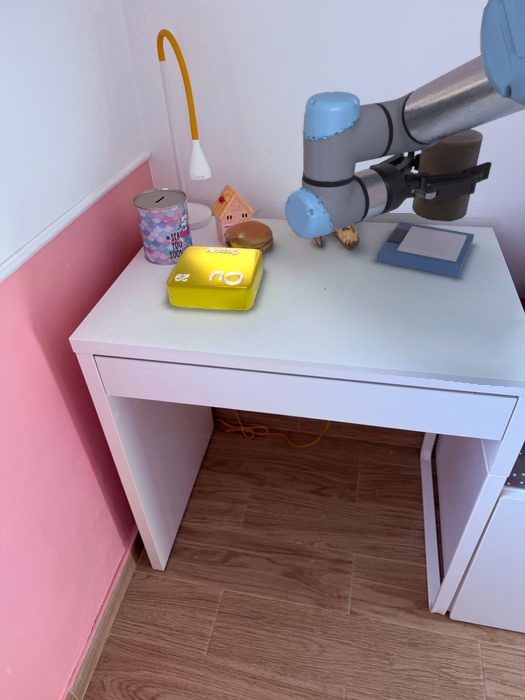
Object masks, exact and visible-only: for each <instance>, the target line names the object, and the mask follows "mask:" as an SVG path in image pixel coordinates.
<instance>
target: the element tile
mask: <svg viewBox="0 0 525 700" xmlns="http://www.w3.org/2000/svg"><path fill="white" fill-rule="evenodd" d="M263 257H264V256H263V254H262V252H261V251H260V250H257V249H246V248H227V247H222V246H220V247H219V246H202V245H201V246H199V245H196V246H195V245H193V246H192V245H191V246H188V247H187V248H185V249H184V250H183V251H182V253H181V255H180V257H179V258H178V260H177V262H176V263H175V266H174V267H173V269H172V271H171V272H170V274H169V276H168V278H167V279H166V283H165V284H166V289H167V296H168V301H169V303H170V305H172V306H173V307H177V308H190V309H202V310H203V309H206V310H220V311H236V312H240V311H247V310H251V308H252V307H253V306H254V304H255V301H256V297H257V295H258V291H259V288H260V284H261V281H262V278H263V274H264V261H263Z"/></svg>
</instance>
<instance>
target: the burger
mask: <svg viewBox="0 0 525 700" xmlns="http://www.w3.org/2000/svg"><path fill="white" fill-rule="evenodd" d="M237 223H238V222H237ZM234 224H235V223H234ZM232 225H233V224H232ZM230 226H231V225H230ZM230 226H229V227H228V228H226V229H225V231H224V234H223V236H224V238H225V241H224V244H226V245H227V246H226V248H246V249H257V250H260V251H261V252H262V255H264V254H266V253H267V251H268V250H270V249H271V248H272V247H273V245H274V242H275V241H274V235H273V231H272V229H271V228H270V227H269V225H267V224H265V223H263V222H261V221H258V220H251V221H247V222H242V223H238V224H235V225H233V226H231V227H230Z"/></svg>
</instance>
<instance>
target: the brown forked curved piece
mask: <svg viewBox="0 0 525 700" xmlns="http://www.w3.org/2000/svg"><path fill="white" fill-rule="evenodd" d="M334 233H335V235H336V236H337V238H338V239H340V241H341V242H342V243H343V245H344V246H346V248H347V249H349V250H353V249H356V248H357V247H358V246H359V244H360V236H359V233H358V231H357V230H356V228H355V226H354V224H352V225H349V226H347V227H344V228H342V229H339V230H337V231H334ZM314 239H315V242H316V243H317V245H318V246H319V247H322V236H319V237H315V238H314Z"/></svg>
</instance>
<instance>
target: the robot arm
mask: <svg viewBox="0 0 525 700" xmlns="http://www.w3.org/2000/svg"><path fill="white" fill-rule="evenodd" d="M479 51H480V55H478V56H476V57H474V58H472V59H471V60H468V61H467V62H465V63H463V64H461V65H459V66H457V67H455V68H454V69H452V70H449V71H448V72H446V73H444V74H442V75H440V76H439V77H436V78H435V79H433V80H431V81H429V82H427V83H425V84H424V85H421V86H419V87H418V88H416V89H415V90H412V91H411V92H408V93H406V94H405V95H403V96H401V97H398V98H395V99H392V100H391V99H390V100H385V101H382V102H373V103H367V104H361V101H360V98H359V97H358V96H357V95H356V94H354V93H351V92H346V91H322V92H318V93H315V94H312V95H311V96H310V97H309V98H308V99H307V100H306V102H305V105H304V113H303V121H302V122H303V123H302V162H303V163H302V164H303V167H302V169H303V171H302V177H301V187H298V188H297V189H296V190H293V191H292V192H290V193H289V194H288V195H287V199H286V201H285V204H284V213H285V219H286V222H287V224H288V226H289V228H290V229H291V231H292V232H293V233H294V234H295V235H296V236H297V237H299V238H300V239H302V240H303V239H304V240H312V239H316V238H315V237H319V236H321V237H322V236H328V235H331V234H332V233H335V231H337V230H339V229H342V228H344V227H347V226H349V225H354V224H359V223H361V222H363V221H366V220H369V219H372V218H375V217H377V216H381V215H384V214H387V213H390V212H393V211H395V210H397V209H399V208H400V206H402V204H403V203H404V202H405V201H406V200H407V199H412V198H413V199H414V197H417V196H421V197H424V201H423V202H424V203H426V204H430V203H432V202H434V201H437V200H442V199H447V198H452V197H458V196H463V195H469V194H470V195H473V194H475V191H476V187H477V184H478V183H481V182H483V181H485V180H488V179H489V176H490V172H491V168H492V164H493V162H490V161H485V162H483V163H480V164H477V166H474V167H471V168H468V169H465V170H463V173H455V174H441V175H430V174H429V173H427V172H426V173H418V168H419V162H420V156H421V150H423V149H426V148H428V147H431V146H434V145H435V144H437V143H438V142H439V141H440V140H441V139H444V138H447V137H450V136H452V135H455V134H458V133H461V132H463V131H466V130H469V129H475V128H477V127H479V126H483V125H485V124H488V123H490V122H493V121H496V120H499V119H502V118H505V117H508V116H511V115H513V114H516V113H518V112H521V111H524V110H525V0H487V3H486V5H485V6H484V8H483V11H482V15H481V23H480V31H479ZM416 152H420V153H416ZM406 153H407V155H406V156H405V154H406ZM385 157H388V158H386V159H384V160H383V161H381V162H379V163H375V164H371V165H369V168H364V169H361V170H358V171H356V166H357V165H356V164H357V163H363V162H367V161H374V160H378V159H381V158H385ZM413 170H414V171H417V172H413ZM422 178H424V180H423V186H422V188H421V184H422Z"/></svg>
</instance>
